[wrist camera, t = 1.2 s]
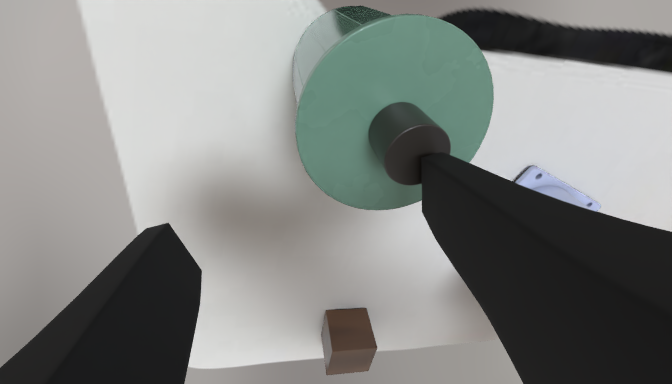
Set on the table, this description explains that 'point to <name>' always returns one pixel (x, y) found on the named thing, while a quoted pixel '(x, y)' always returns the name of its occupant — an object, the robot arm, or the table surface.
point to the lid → (391, 108)
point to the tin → (326, 38)
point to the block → (347, 341)
